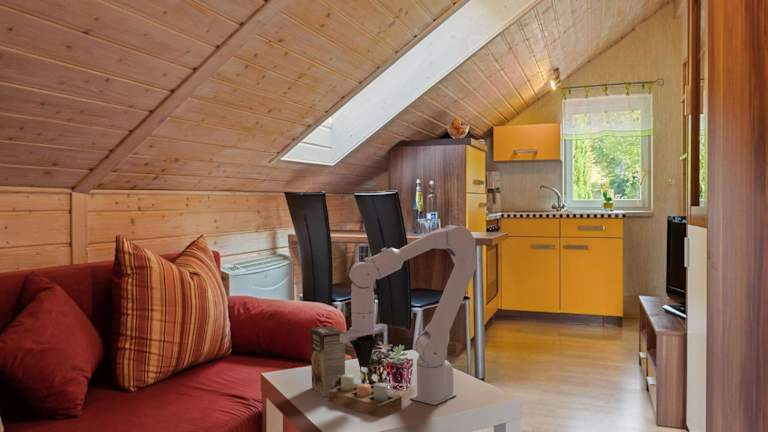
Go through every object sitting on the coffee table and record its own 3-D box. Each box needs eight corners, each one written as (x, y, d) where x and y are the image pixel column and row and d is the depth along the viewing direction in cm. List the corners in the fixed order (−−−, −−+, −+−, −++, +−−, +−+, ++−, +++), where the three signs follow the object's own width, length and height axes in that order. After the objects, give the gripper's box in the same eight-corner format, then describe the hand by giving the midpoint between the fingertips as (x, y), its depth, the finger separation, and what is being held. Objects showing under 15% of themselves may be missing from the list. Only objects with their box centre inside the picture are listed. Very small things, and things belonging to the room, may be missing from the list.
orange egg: (363, 398, 146) (363, 382, 146) (374, 401, 144) (373, 385, 144) (354, 402, 144) (354, 386, 143) (364, 405, 141) (364, 388, 141)
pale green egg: (347, 388, 150) (347, 373, 150) (357, 391, 148) (357, 375, 147) (338, 392, 147) (338, 376, 147) (347, 395, 145) (347, 379, 145)
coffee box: (310, 387, 158) (309, 327, 157) (333, 383, 161) (331, 325, 160) (323, 397, 150) (322, 334, 149) (346, 393, 153) (345, 331, 152)
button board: (328, 401, 146) (328, 390, 146) (350, 393, 152) (350, 382, 152) (379, 417, 135) (379, 405, 135) (401, 408, 141) (401, 396, 141)
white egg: (380, 398, 142) (380, 381, 142) (391, 401, 140) (390, 384, 140) (371, 402, 140) (370, 385, 140) (381, 405, 138) (381, 388, 137)
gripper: (370, 305, 152) (371, 357, 153) (330, 314, 142) (331, 370, 142) (391, 308, 148) (392, 361, 148) (351, 317, 137) (352, 375, 137)
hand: (364, 366), depth 145 cm, fingers closed
